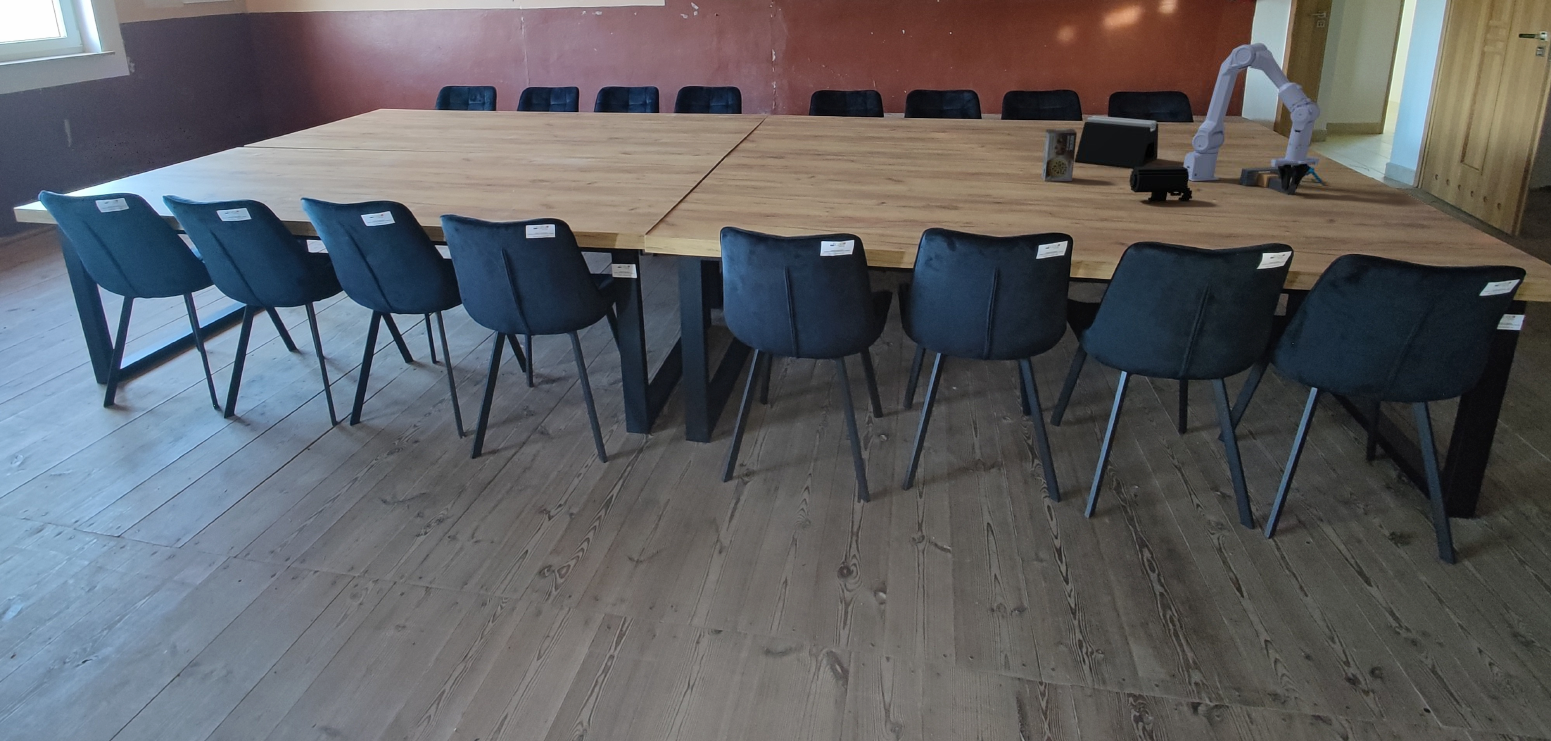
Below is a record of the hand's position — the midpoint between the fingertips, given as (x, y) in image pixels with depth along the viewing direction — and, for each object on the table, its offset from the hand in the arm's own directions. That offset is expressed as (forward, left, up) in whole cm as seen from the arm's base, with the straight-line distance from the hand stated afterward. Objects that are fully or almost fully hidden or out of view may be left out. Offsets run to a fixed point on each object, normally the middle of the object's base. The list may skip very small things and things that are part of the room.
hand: (1289, 188), depth 283 cm
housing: (0, +13, -1) cm, 13 cm away
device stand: (-27, +58, -2) cm, 64 cm away
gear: (+17, +14, -2) cm, 22 cm away
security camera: (-43, -1, -2) cm, 43 cm away
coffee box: (-61, +34, -2) cm, 70 cm away
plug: (0, +6, -1) cm, 6 cm away
